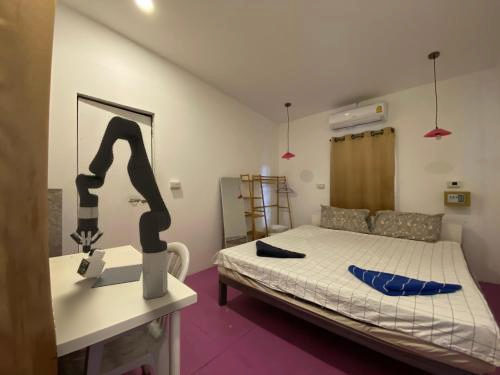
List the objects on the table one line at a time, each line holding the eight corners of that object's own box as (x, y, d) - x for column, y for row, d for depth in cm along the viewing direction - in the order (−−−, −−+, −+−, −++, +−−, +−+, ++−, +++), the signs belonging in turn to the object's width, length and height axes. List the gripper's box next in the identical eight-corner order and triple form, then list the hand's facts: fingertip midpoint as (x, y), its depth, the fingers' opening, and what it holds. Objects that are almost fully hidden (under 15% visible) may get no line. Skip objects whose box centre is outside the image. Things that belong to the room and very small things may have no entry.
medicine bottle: (76, 272, 96) (87, 246, 99) (92, 272, 102) (102, 247, 105) (83, 277, 92) (94, 250, 95) (100, 277, 98) (110, 251, 101)
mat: (139, 280, 95) (139, 279, 95) (91, 287, 88) (91, 287, 88) (143, 264, 116) (143, 263, 116) (105, 269, 109) (105, 268, 109)
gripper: (67, 217, 91) (65, 256, 92) (103, 217, 96) (101, 254, 97) (73, 214, 98) (72, 251, 99) (107, 214, 103) (105, 249, 104)
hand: (86, 252), depth 98 cm, fingers closed
